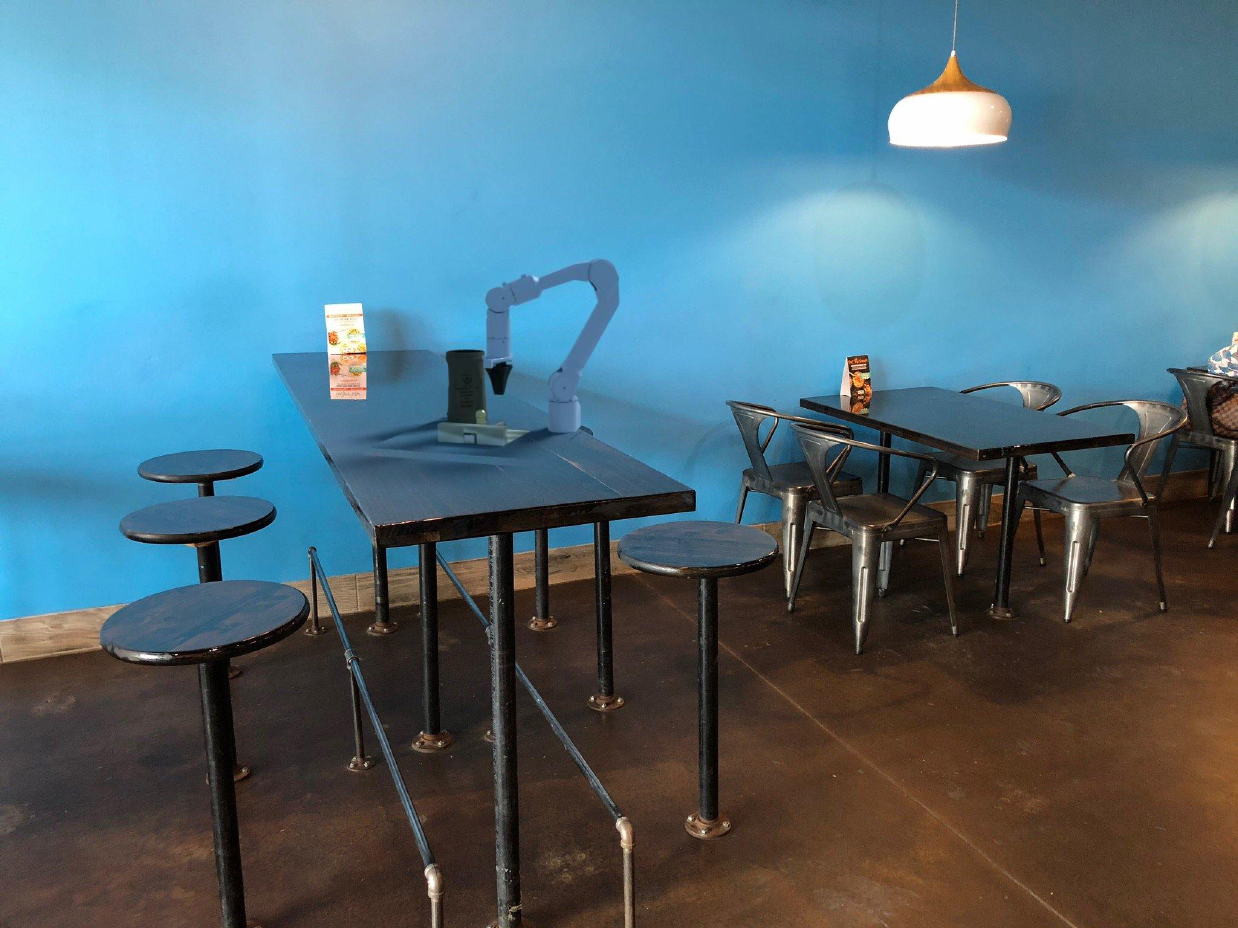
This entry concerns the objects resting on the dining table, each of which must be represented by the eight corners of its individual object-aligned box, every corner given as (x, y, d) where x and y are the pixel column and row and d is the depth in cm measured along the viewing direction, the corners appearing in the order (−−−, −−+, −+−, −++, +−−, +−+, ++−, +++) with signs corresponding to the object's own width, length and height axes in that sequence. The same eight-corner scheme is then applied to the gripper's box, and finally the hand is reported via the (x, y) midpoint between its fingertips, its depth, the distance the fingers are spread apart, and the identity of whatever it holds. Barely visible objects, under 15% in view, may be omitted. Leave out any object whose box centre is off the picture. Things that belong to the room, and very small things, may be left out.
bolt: (478, 435, 223) (477, 408, 222) (488, 436, 223) (487, 409, 221) (464, 442, 216) (463, 414, 214) (474, 443, 215) (473, 415, 214)
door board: (469, 433, 235) (468, 411, 234) (530, 437, 231) (530, 414, 230) (438, 447, 218) (437, 424, 217) (503, 452, 214) (502, 428, 213)
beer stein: (493, 430, 239) (491, 350, 236) (451, 432, 235) (448, 351, 232) (479, 423, 253) (476, 348, 250) (439, 425, 249) (436, 349, 246)
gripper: (494, 334, 233) (494, 389, 236) (470, 340, 220) (471, 398, 223) (521, 335, 232) (521, 390, 235) (499, 341, 218) (499, 399, 221)
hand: (499, 394), depth 229 cm, fingers closed
